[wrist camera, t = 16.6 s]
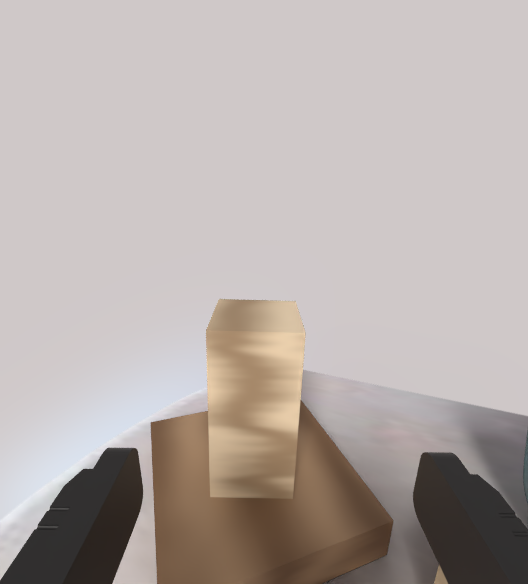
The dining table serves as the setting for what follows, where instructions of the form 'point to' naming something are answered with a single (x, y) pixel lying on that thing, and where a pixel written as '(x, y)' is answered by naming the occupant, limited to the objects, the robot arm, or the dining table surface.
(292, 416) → the oak pillar
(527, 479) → the flower pot
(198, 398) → the dining table surface
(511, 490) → the dining table surface
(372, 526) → the walnut slab
